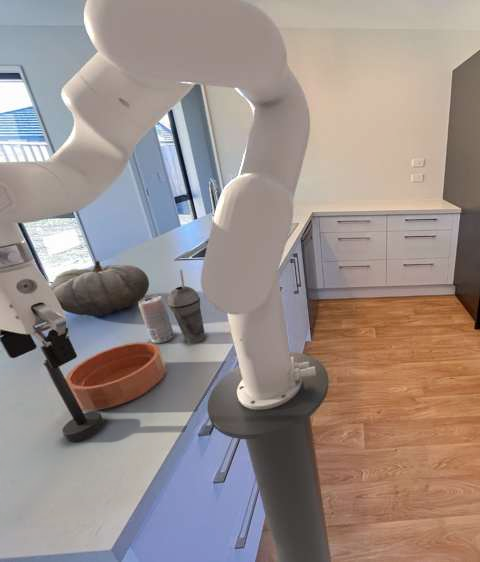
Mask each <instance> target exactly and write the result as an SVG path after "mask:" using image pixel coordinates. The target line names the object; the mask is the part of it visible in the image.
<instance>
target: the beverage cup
mask: <svg viewBox="0 0 480 562" xmlns="http://www.w3.org/2000/svg"><path fill="white" fill-rule="evenodd" d="M179 274H180V275H179V276H180V282H181V285H180V286H177V287H175V288H173V290H171V291H170V293H169V295H168V298H167V303H168V304H167V305H168V307H169V309H170V311H171V313H172V314H173V315H174V318H175V320H176V323H177V325H178V327H179V329H180V331H181V334H182V336H183V338H184V340H185V341H186V343H187V344H188V345H189V344H191V345H193V344H197V343H200V342H202V341H203V340H205V338H206V336H205V335H206V334H205V327H204V321H203V316H202V310H201V309H202V308H201V297H200V296H199V294H198V293H197V291H196V290H195V288H192V287H190V286H186V285H185V282H184V281H185V280H184V275H183V270H182V269H179Z"/></svg>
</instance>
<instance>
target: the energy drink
mask: <svg viewBox="0 0 480 562" xmlns="http://www.w3.org/2000/svg"><path fill="white" fill-rule="evenodd" d="M138 308H139V310H140V314H141V316H142V319H143V322H144V324H145V327H146V330H147V332H148V335H149V339H150V341H151V343H153V344H163V343H166V342H168V341H170V340H171V339H173V338H174V336H175V331H174V329H173V326H172V323H171V319H170V316H169V313H168V311H167V308H166V305H165V301H164V299H163V298H162V296H161V295H151V296H147V297H143V298H142V299H141V300H140V301H138Z"/></svg>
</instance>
